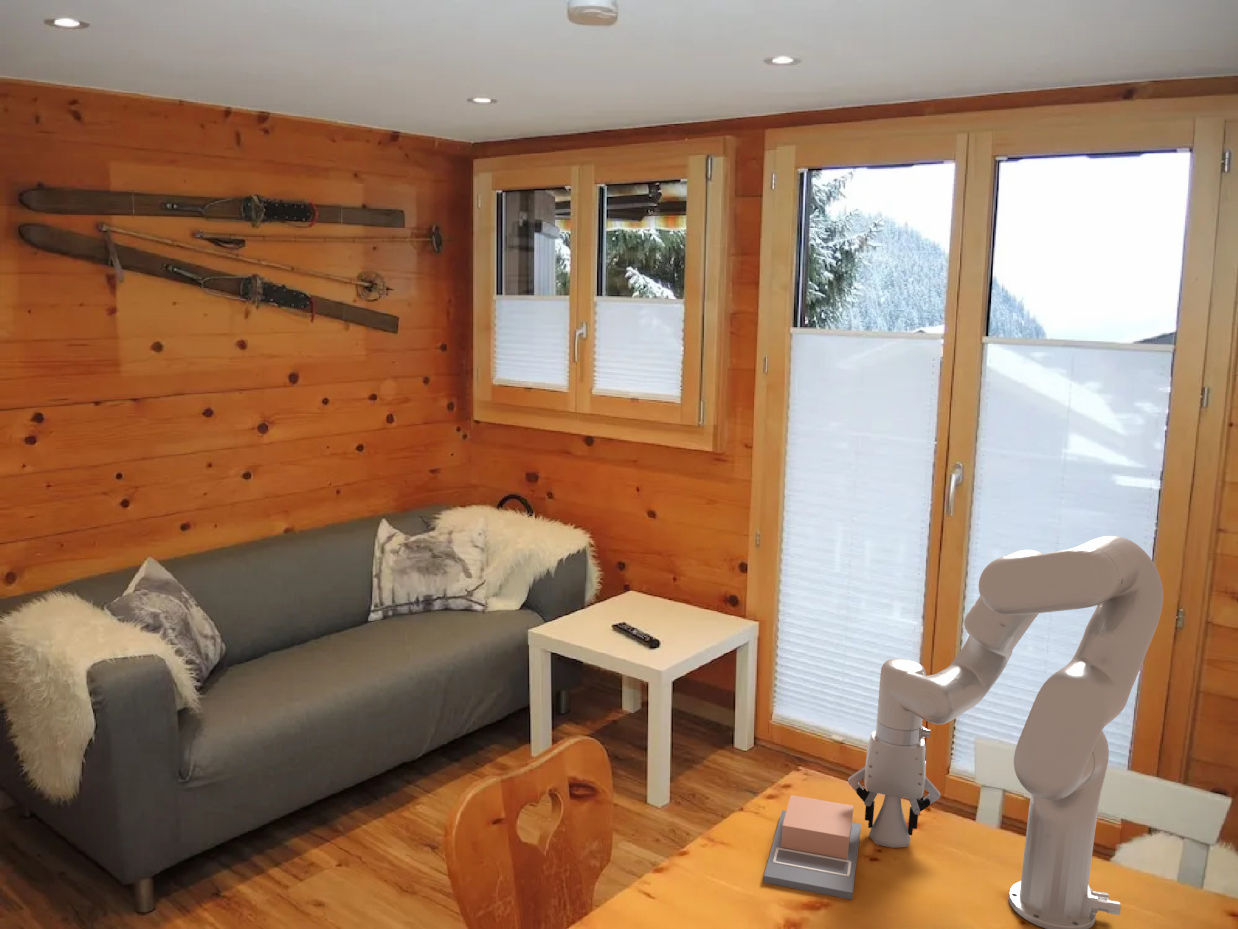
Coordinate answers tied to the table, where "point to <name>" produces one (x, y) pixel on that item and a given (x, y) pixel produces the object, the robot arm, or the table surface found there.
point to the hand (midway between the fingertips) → (890, 827)
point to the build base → (812, 862)
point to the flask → (890, 825)
